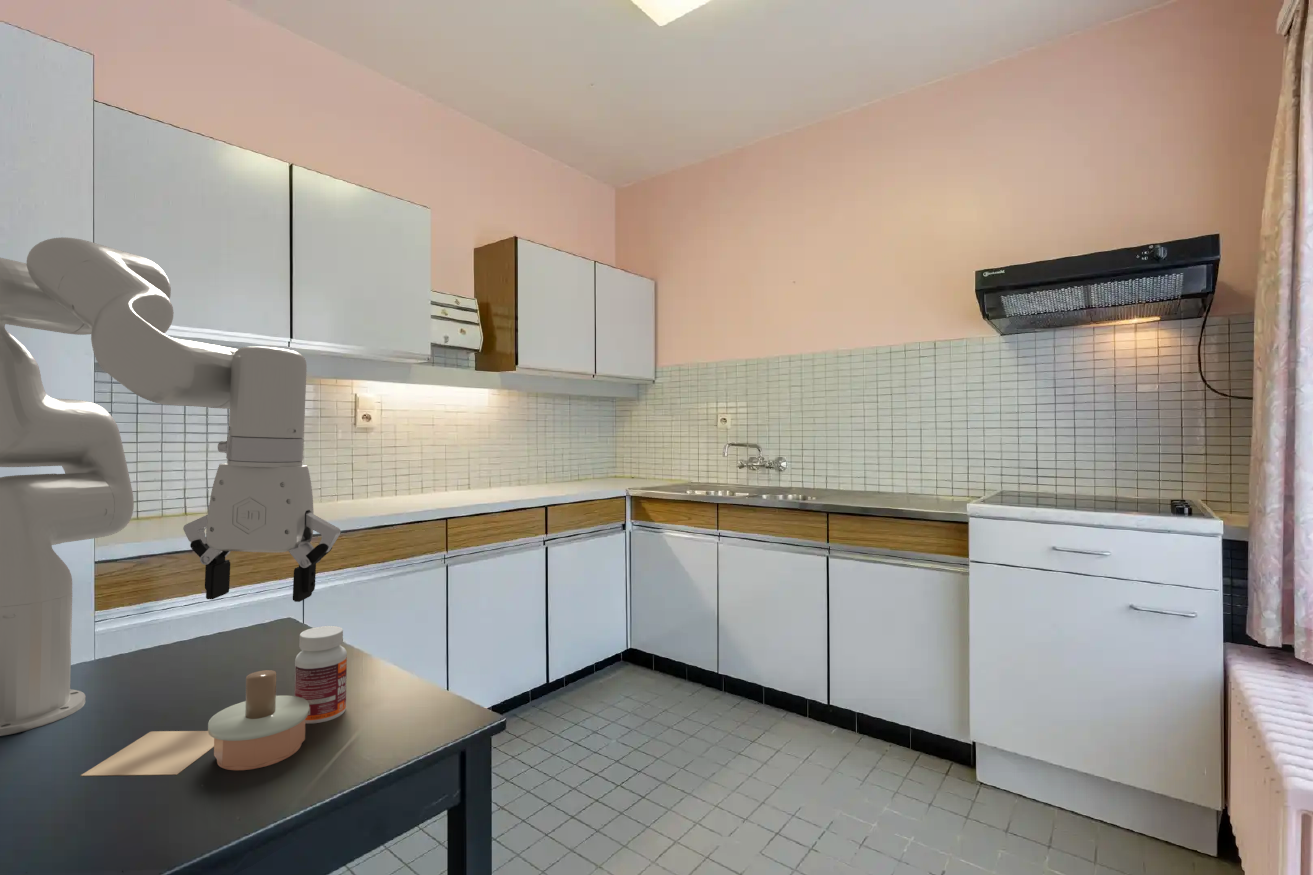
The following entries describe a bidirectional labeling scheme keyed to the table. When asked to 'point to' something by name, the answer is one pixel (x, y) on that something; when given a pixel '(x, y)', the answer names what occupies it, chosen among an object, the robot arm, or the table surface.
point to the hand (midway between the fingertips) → (260, 597)
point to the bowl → (259, 749)
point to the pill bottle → (322, 673)
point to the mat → (156, 754)
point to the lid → (258, 711)
